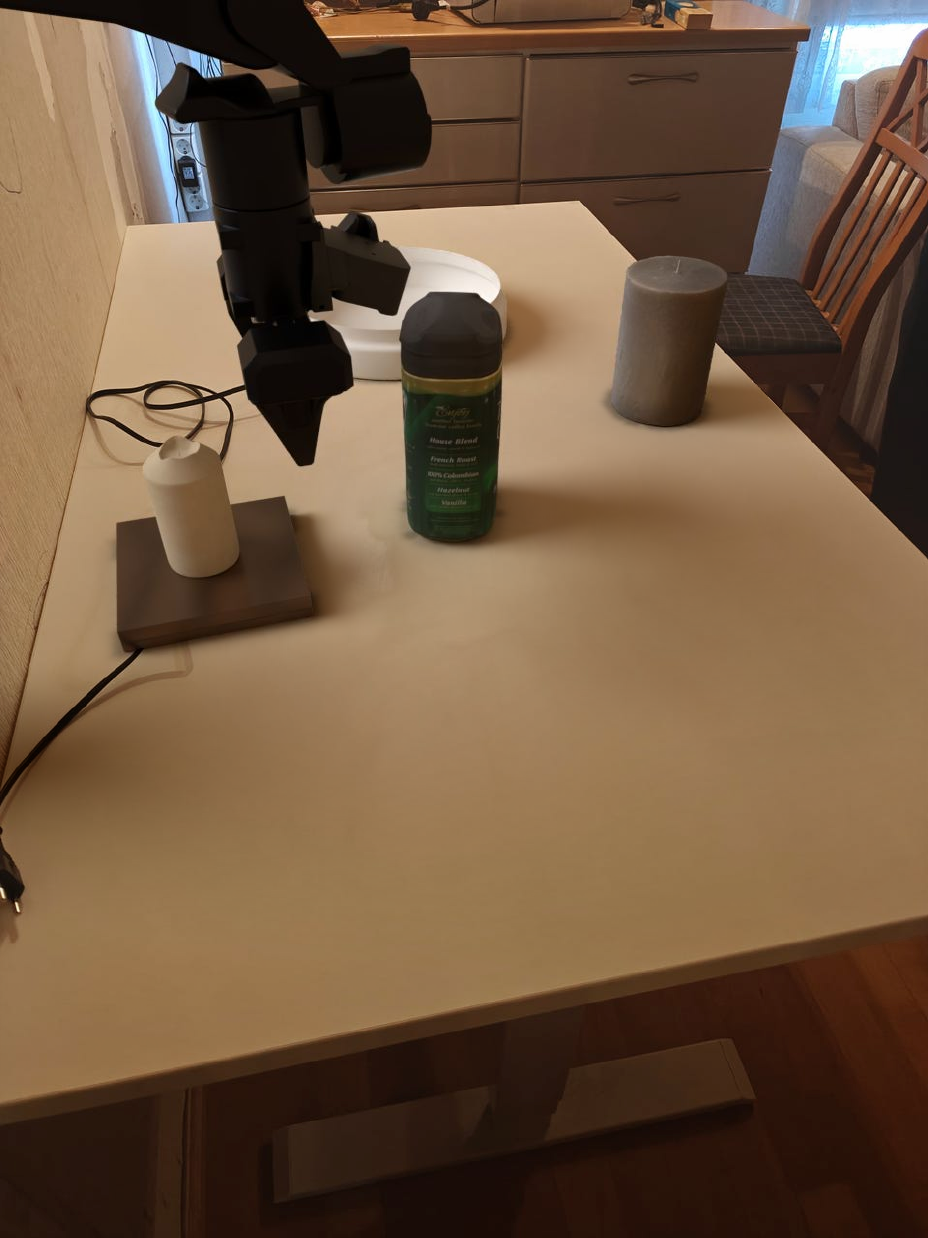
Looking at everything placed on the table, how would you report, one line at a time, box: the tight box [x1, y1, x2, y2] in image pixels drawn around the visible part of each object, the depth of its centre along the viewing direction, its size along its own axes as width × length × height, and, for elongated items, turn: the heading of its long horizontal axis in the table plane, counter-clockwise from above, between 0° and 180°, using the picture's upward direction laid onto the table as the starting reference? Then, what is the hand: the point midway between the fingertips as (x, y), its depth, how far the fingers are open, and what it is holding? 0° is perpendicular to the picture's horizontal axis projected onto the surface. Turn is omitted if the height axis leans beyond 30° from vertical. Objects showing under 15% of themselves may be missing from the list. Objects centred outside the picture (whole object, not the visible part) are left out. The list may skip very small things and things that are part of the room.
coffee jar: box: [399, 292, 504, 542], centre depth 70 cm, size 10×8×19 cm
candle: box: [142, 435, 239, 578], centre depth 65 cm, size 6×6×10 cm
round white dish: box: [308, 246, 508, 381], centre depth 103 cm, size 27×27×6 cm
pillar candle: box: [610, 255, 729, 427], centre depth 87 cm, size 10×10×15 cm
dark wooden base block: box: [115, 495, 315, 652], centre depth 69 cm, size 14×14×2 cm
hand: (295, 431), depth 62 cm, fingers open, 9 cm apart
